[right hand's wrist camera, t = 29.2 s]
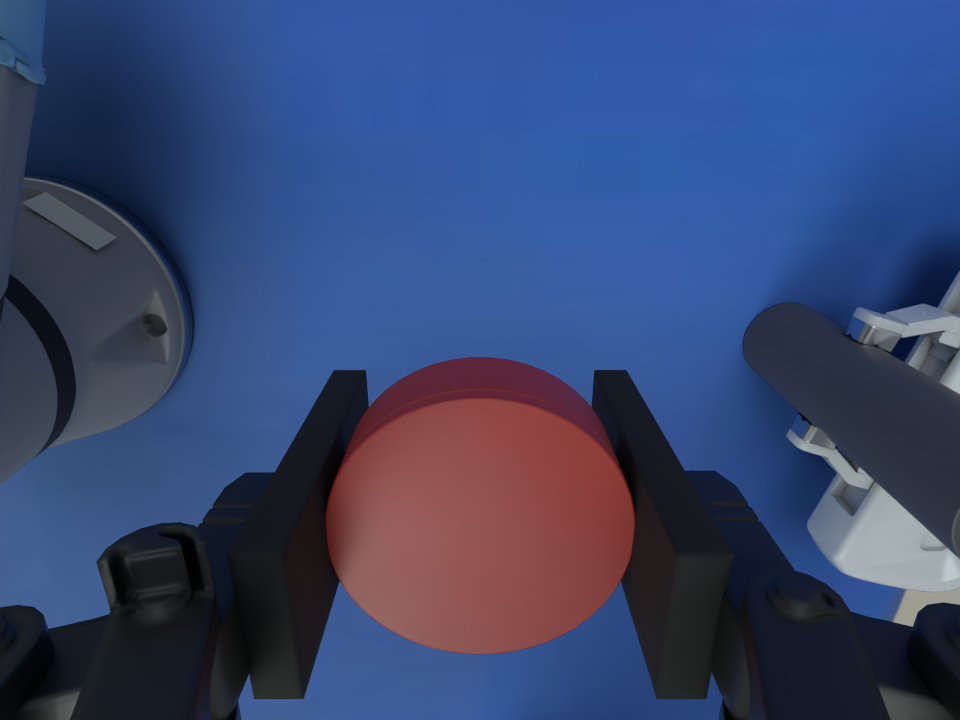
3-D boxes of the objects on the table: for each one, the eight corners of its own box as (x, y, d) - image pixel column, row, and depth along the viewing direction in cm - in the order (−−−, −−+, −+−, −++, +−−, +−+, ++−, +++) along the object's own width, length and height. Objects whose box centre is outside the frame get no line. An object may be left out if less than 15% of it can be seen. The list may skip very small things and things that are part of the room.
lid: (307, 532, 13) (281, 595, 11) (409, 309, 11) (396, 344, 9) (537, 618, 14) (545, 690, 12) (666, 424, 12) (697, 476, 10)
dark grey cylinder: (729, 328, 37) (969, 530, 19) (805, 287, 36) (1135, 458, 18) (760, 389, 39) (1009, 631, 20) (834, 351, 38) (1164, 570, 19)
